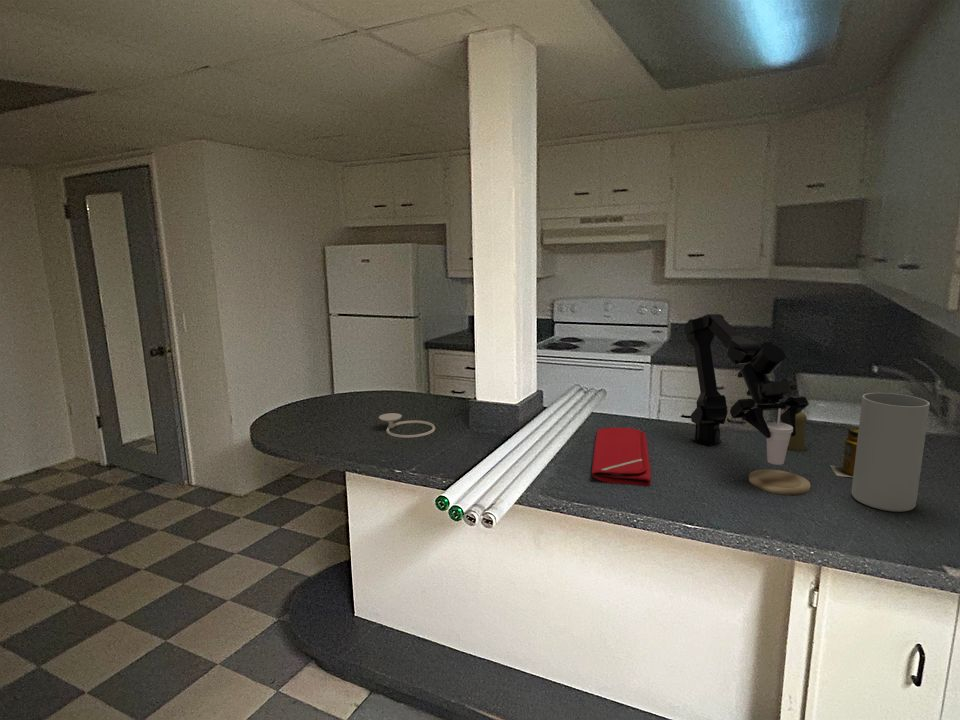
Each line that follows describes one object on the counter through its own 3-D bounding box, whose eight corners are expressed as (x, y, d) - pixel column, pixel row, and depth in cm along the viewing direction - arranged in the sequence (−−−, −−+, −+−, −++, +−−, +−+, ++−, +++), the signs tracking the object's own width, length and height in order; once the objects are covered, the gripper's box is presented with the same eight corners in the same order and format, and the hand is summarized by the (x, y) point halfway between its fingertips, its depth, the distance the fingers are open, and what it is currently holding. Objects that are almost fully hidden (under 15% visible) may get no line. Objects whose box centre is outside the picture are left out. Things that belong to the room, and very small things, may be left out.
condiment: (874, 479, 147) (879, 435, 144) (837, 476, 149) (841, 433, 147) (865, 469, 153) (869, 427, 151) (829, 466, 156) (833, 424, 154)
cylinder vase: (839, 495, 138) (850, 396, 133) (872, 486, 142) (884, 390, 138) (893, 517, 126) (907, 409, 121) (927, 506, 131) (942, 402, 126)
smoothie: (784, 458, 147) (789, 406, 144) (793, 467, 140) (799, 413, 138) (758, 456, 148) (762, 405, 145) (766, 466, 141) (771, 412, 139)
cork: (782, 449, 170) (785, 413, 168) (782, 442, 175) (785, 408, 173) (805, 452, 167) (809, 416, 165) (805, 445, 172) (808, 410, 170)
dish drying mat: (646, 437, 184) (646, 426, 184) (652, 488, 145) (652, 474, 145) (596, 434, 188) (597, 423, 187) (590, 483, 149) (590, 470, 148)
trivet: (737, 481, 147) (738, 477, 147) (766, 468, 155) (766, 465, 155) (792, 499, 136) (792, 495, 136) (820, 485, 144) (820, 481, 143)
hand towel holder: (420, 428, 183) (366, 422, 191) (421, 441, 184) (367, 434, 192) (443, 414, 199) (392, 408, 206) (443, 426, 200) (393, 420, 207)
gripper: (739, 368, 142) (763, 424, 133) (807, 365, 144) (835, 419, 136) (720, 391, 151) (741, 444, 143) (784, 387, 153) (808, 439, 145)
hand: (781, 436), depth 141 cm, fingers closed on smoothie, 6 cm apart
